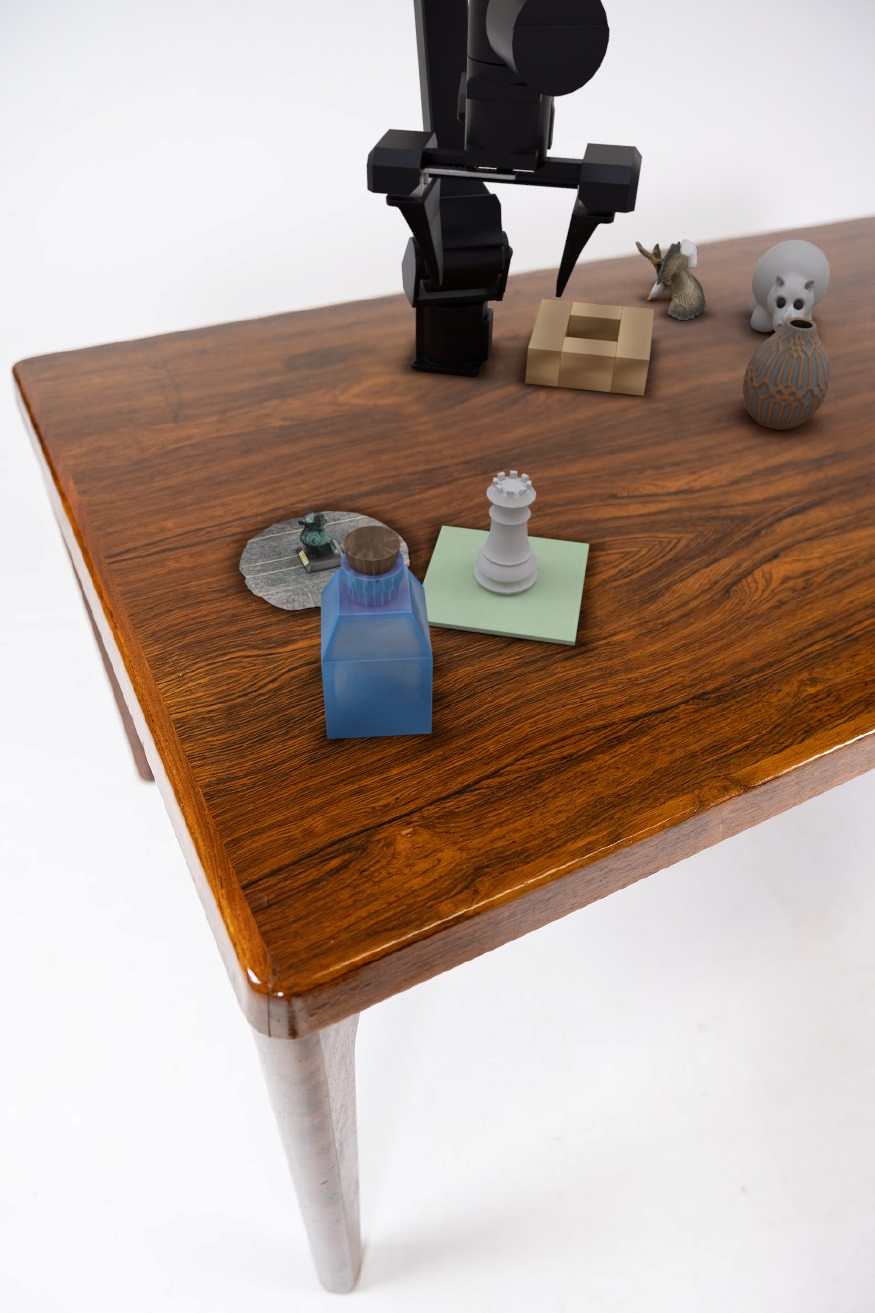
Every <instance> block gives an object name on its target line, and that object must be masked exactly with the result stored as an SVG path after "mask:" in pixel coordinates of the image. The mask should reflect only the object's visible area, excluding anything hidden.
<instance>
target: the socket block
mask: <svg viewBox="0 0 875 1313" xmlns="http://www.w3.org/2000/svg"><path fill="white" fill-rule="evenodd" d="M654 314H655V309H654V308H644V307H634V306H625V305H624V306H622V305H613V304H600V303H589V302H582V301H581V302H580V301H570V300H560V299H559V300H557V299H548V298H547V299H546V298H542V299H541V302H540V306H539V309H538V313H537V316H536V319H535V322H534V325H533V329H532V332H531V337H530V339H529V343H528V346H527V354H526V355H527V356H526V368H525V382H524V383H525V384H526V385H527V384H530V385H538V386H548V387H556V388H567V389H576V390H586V391H594V392H595V391H596V392H604V393H612V394H613V393H615V394H623V395H633V396H642V397H643V396H644V395H645V389H646V385H647V384H646V383H647V377H648V373H649V367H650V358H651V349H652V348H651V347H652V337H653V328H654V324H653V323H654V316H655V315H654Z"/></svg>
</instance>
